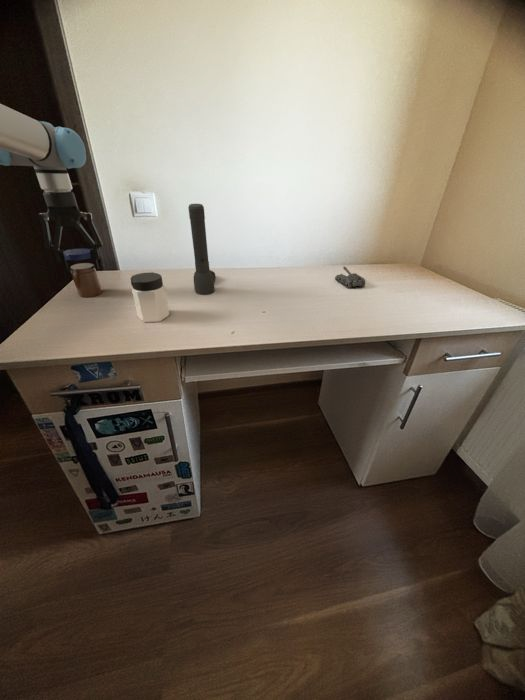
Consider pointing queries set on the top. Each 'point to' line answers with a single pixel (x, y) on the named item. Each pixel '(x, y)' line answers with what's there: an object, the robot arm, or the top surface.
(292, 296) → the top surface
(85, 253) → the lid
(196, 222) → the flashlight
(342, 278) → the tank toy
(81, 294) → the jam jar
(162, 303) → the jar
